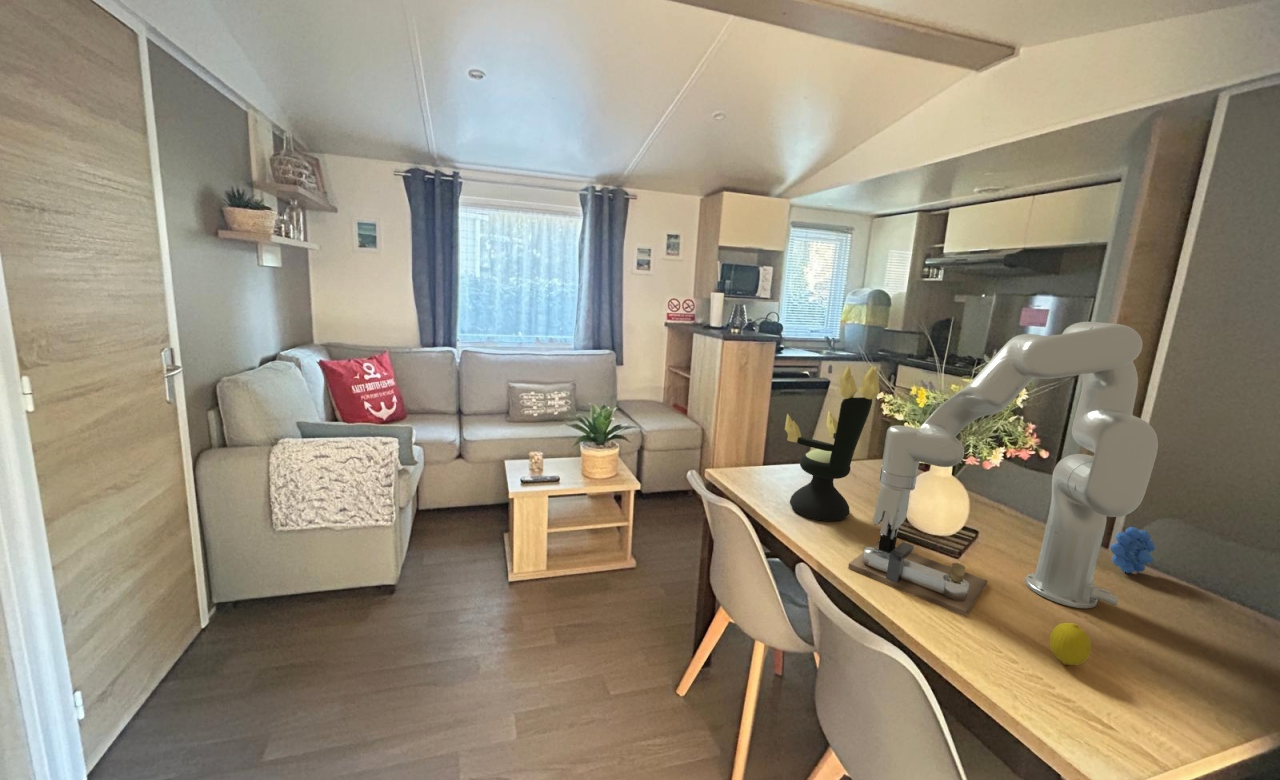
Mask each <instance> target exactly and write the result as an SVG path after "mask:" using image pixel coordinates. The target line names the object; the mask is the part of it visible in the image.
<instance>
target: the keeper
mask: <svg viewBox="0 0 1280 780" xmlns="http://www.w3.org/2000/svg"><path fill="white" fill-rule="evenodd" d="M895 547H896V548H895V549H894V550H893V551H891V552H890V556H889V563H888V569H887V575H886V579H889V580H891V581H894V582H896V583H898V582H899V581H900V580H901V574H902V568H903V562H904V559H905V558H906V557H907V556H908V555H909V554H910V553H913V551H914V548H915V545H914V544H910V543H908V542H905V541H902V542H900V544H898V545H896V546H895Z"/></svg>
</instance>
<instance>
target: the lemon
mask: <svg viewBox="0 0 1280 780" xmlns="http://www.w3.org/2000/svg"><path fill="white" fill-rule="evenodd" d="M1091 647H1092V644H1091V639H1090V637H1089V635H1088V633H1087V632H1086V631H1085V630H1084V629H1083V628H1082V627H1080V626H1079V625H1078V624H1077V623H1075V622H1072V623H1071V622H1061V623H1058V624H1057V625H1056V626H1055V627H1054V628H1053V629H1052V631H1051V633H1050V636H1049V649H1050V650H1051V653H1052V654H1053V655H1054V657H1056V658H1057V659H1058V660H1059V661H1060V662H1061V663H1062V664H1063V665H1065V666H1067V665H1068V666H1069V665H1071V666H1079V665H1081V664H1083V663H1085V662H1086V661H1087V660H1088V658H1089V657H1090V656H1091V655H1090V654H1091Z"/></svg>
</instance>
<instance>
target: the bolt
mask: <svg viewBox="0 0 1280 780" xmlns="http://www.w3.org/2000/svg"><path fill="white" fill-rule="evenodd" d="M863 552H864V554H863V560H862V561H863V563H864V564H866V565H868V566H871V567H874V568H876V569H879V570H882V571H884V572H887V569H888V563H889V556H890V553H887V552H884V551H881V550H879V549H876V548H872V547H871V546H867V547H864V549H863ZM901 578H903V579H905V580H908V581H910V582H913V583H916V584H918V585H921V586H924V587H926V588H929V589H931V590H934V591H937V592H939V593H942V594H944V595H945V596H947V597H949V598H952V599H955V600H966V599H967V594H968V589H969V583H968V582H967V581H966V580H965V579H963V582H956V581H953V580H952V579H950V575H949V574H946V573H943V572H940V571H938V570H935V569H932V568H929V567H926V566H924V565H921V564H918V563H915V562H912V561H910V560H907V559H904V562H903V568H902V574H901Z"/></svg>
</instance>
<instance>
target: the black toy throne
mask: <svg viewBox="0 0 1280 780" xmlns="http://www.w3.org/2000/svg"><path fill="white" fill-rule="evenodd" d="M877 368H878V367H877V366H874V365H872V366H871V368H869V369H868V371H867V372H866V373H865V375H864V376H863V377H862V379H861V380H862V381H861V382H862V386H861V387H859V388H857V385H856V382H855V379H854V377H853V375H852V372H851V371H852V370H851V368H850V365H848V366H847V367H846V369H845V370H844V372H843V373H842V375H841V376H840V378H839V381H840V387H839V388H838V391H839V394H840V395H841V396H842V397H843V399H842V401H841V403H840V409H839V415H838V418H837V419H838V420H837V419H836V418H835V417H834V416H833V415H832V413H831V412H830V410H828V412H827V417H826V422H825V423H826V424H825V425H826V428H827V430H828V436H829V437H830V438H832V439H834V441H833V444H832V443H830V442H825V441H821V440H817V439H813V438H809V437H805V436H802V434H801V430H800V427H799V425H798V424H797V423H796V422H795V420H792V418H791V416H790V415H789V413H787V414H786V420H785V426H784V430H785V432H786V433H787V438H786V441H788V442H792V443H797V444H798V445H801V446H805V447H809V448H813V449H811V450H809V451H808V452H806V453H804V454H803V455H802V456H801V457H800V459H799V465H800V468H801V469H802V470H803V472H805V473H807V474H808V475H811V476H812V477H811V480H810V482H809V483H807V484H806V485H803V486H802V487H800V488H798V489H797V490H796V491H794V493H793V494H792V495H791V496H790V499H789V504H790V507H791V508H792V510H794V511H795V512H796V513H798V514H800V515H801V516H803V517H806V518H809V519H813V520H817V521H820V522H821V521H824V522H839V521H843V520H844V519H846V518H847V517H848V516H849V515H850V512H851V511H850V505H849V503H848V501H847V500H846V498H845V497H844V496H843V494H841V493H840V492H839V490H838V489H837V488H836V487H835V484H834V480H838V479H843V478H846V477H847V476H848V475H849V474H850V472H851V464H852V461H853V457H854V454H855V450H856V448H857V445H858V442H859V440H860V438H861V435H862V433H863V429H864V427H865V424H866V422H867V420H868V416H869V415H870V411H871V407H872V404H873V400H874V399H875V398H876V397H877V395H878V394H879V393H880V385H879V375H877V373H878V369H877ZM858 391H859V393H860V394H861V396H862V397H855V395H856V394H857V392H858Z"/></svg>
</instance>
